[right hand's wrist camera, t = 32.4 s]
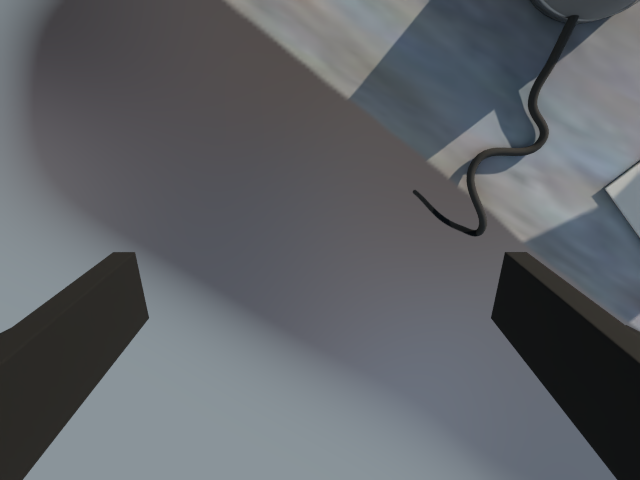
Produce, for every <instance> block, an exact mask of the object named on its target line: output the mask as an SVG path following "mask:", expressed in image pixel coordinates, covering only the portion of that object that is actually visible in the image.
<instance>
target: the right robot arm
mask: <svg viewBox="0 0 640 480" xmlns="http://www.w3.org/2000/svg"><path fill="white" fill-rule="evenodd" d="M638 1H640V0H531V2H532V3H533V4H534V5H535V7H536V8H537V9H539V10H540V11H541V12H542V13H544V14H545V15H546V16H548V17H550V18H552V19H554V20H557V21H560V22H564V23H566V24H565V26H564V28H563V30H562V32H561V34H560V36H559V38H558V40H557V42H556V44H555V47H554V49H553V51H552V53H551V55H550V57H549V59H548V61H547V63H546V64H545V66H544V68H543V69H542V71H541V73H540V74H539V76H538V77H537V79H536V81H535V83H534V84H533V86H532V89H531V91H530V95H529V99H528V108H529V112H530V114H531V116H532V118H533V120H534V121H535V123H536V124H537V126H538V128H539V131H540V136H539V138H538V140H537V141H536V142H535V143H534V144H533V145H532V146H529V147H525V148H492V149H488V150H485V151H483V152H481V153H480V154H478V155H477V156H476V157H475V158H474V159H473V160H472V162H471V164H470V166H469V168H468V172H467V187H468V191H469V194H470V197H471V199H472V202H473V204H474V207H475V209H476V211H477V214H478V218H479V227H478V229H477V230H472V229H469V228H467V227H464V226H462V225H459V224H457V223H454V222H452V221H450V220H449V219H447V218H446V217H444V216H443V215H441V214H440V213H439V212H438V211H437V210H436V209H435V208H434V207H433V206H432V205H431V204H430V203H429V202H428V201H427V200H426V199H425V198H424V197H423V196H422V195H421V194H420V193H419V192H418V191H416V190H413V194H414V195H416V196H417V197H418V198H419V199H420V200H421V201H422V202H423V204H424V205H425V206H426V207H427V208H428V209H429V210H430V211H431V212H432V213H433V214H434V215H435V216H436V217H437V218H438V219H439V220H440V221H442V222H443V223H445V224H446V225H448V226H450V227H451V228H454V229H456V230H458V231H461V232H463V233H465V234H467V235H470V236H474V237H476V236H480V235H482V234H483V232H484V231H485V229H486V226H487V219H486V214H485V212H484V209H483V206H482V204H481V201H480V199H479V197H478V194H477V191H476V187H475V182H474V175H475V171H476V168H477V167H478V165H479V163H480V162H481V161H482V160H483V159H485V158H487V157H490V156H523V155H528V154H531V153H534V152H535V151H537V150H538V149H540V148H541V147H542V146H543V145H544V143H545V142H546V140H547V138H548V134H549V129H548V126H547V124H546V122H545V120H544V119H543V117H542V115H541V114H540V112H539V110H538V107H537V99H538V95H539V92H540V89H541V87H542V85H543V84H544V82H545V80H546V79H547V77H548V76H549V74H550V73H551V71H552V69H553V68H554V66H555V64H556V62H557V61H558V59H559V57H560V55H561V53H562V51H563V49H564V47H565V45H566V43H567V41H568V38H569V36H570V34H571V32H572V30H573V28H574V26H575V24H579V23H588V22H592V21H596V20H600V19H603V18H606V17H609V16H613V15H615V14H617V13H620V12H622V11H624V10H626V9H627V8H629V7H631V6H632V5H634V4H635V3H637V2H638ZM148 319H149V316H148V311H147V307H146V302H145V297H144V293H143V288H142V283H141V279H140V274H139V269H138V264H137V260H136V255H135V252H113V253H112V254H110V255H109V256H108V257H106V258H105V259H104V260H102V261H101V262H100V263H98V264H97V265H96V266H94V267H93V268H91V269H90V270H89V271H87V272H86V273H85V274H83V275H82V276H81V277H79V278H78V279H77V280H75V281H74V282H73V283H71V284H70V285H69V286H67V287H66V288H65V289H63V290H62V291H60V292H59V293H58V294H56V295H55V296H54V297H52V298H51V299H50V300H48V301H47V302H46V303H44V304H43V305H42V306H40V307H39V308H38V309H36V310H35V311H33V312H32V313H31V314H29V315H28V316H27V317H25V318H24V319H23V320H21V321H20V322H19V323H17V324H16V325H15V326H13V327H12V328H10V329H8V330H6V331H4V332H2V333H0V480H23V479H24V477H25V476H26V475H27V474H28V472H29V471H30V470H31V468H32V467H33V466H34V465H35V463H36V462H37V461H38V459H39V458H40V457H41V456H42V454H43V453H44V452H45V450H46V449H47V448H48V447H49V445H50V444H51V443H52V442H53V440H54V439H55V438H56V436H57V435H58V434H59V433H60V431H61V430H62V429H63V427H64V426H65V425H66V424H67V422H68V421H69V420H70V419H71V417H72V416H73V415H74V413H75V412H76V411H77V410H78V408H79V407H80V406H81V404H82V403H83V402H84V400H85V399H86V398H87V397H88V395H89V394H90V393H91V392H92V390H93V389H94V388H95V386H96V385H97V384H98V383H99V381H100V380H101V379H102V378H103V376H104V375H105V374H106V372H107V371H108V370H109V369H110V367H111V366H112V365H113V363H114V362H115V361H116V360H117V358H118V357H119V356H120V354H121V353H122V352H123V351H124V349H125V348H126V347H127V346H128V344H129V343H130V342H131V340H132V339H133V338H134V337H135V335H136V334H137V333H138V331H139V330H140V329H141V328H142V326H143V325H144V324H145V322H146V321H147V320H148ZM491 319H492V320H493V321H494V322H495V324H496V325H497V326H498V328H499V329H500V330H501V331H502V333H503V334H504V335H505V337H506V338H507V339H508V340H509V342H510V343H511V344H512V346H513V347H514V348H515V349H516V351H517V352H518V353H519V355H520V356H521V357H522V358H523V360H524V361H525V362H526V363H527V365H528V366H529V367H530V369H531V370H532V371H533V372H534V374H535V375H536V376H537V378H538V379H539V380H540V381H541V383H542V384H543V385H544V386H545V388H546V389H547V390H548V392H549V393H550V394H551V395H552V397H553V398H554V399H555V401H556V402H557V403H558V404H559V406H560V407H561V408H562V410H563V411H564V412H565V413H566V415H567V416H568V417H569V419H570V420H571V421H572V422H573V424H574V425H575V426H576V427H577V429H578V430H579V431H580V433H581V434H582V435H583V436H584V438H585V439H586V440H587V442H588V443H589V444H590V445H591V447H592V448H593V449H594V451H595V452H596V453H597V454H598V456H599V457H600V458H601V459H602V461H603V462H604V463H605V465H606V466H607V467H608V468H609V470H610V471H611V472H612V474H613V475H614V476H615V477H616V479H617V480H640V332H639V331H637V330H635V329H633V328H631V327H629V326H627V325H624V324H623V323H621V322H620V321H619V320H617V319H616V318H615V317H613V316H612V315H611V314H609V313H608V312H607V311H605V310H604V309H602V308H601V307H600V306H598V305H597V304H596V303H594V302H593V301H592V300H590V299H589V298H588V297H586V296H585V295H584V294H582V293H581V292H580V291H578V290H577V289H575V288H574V287H573V286H571V285H570V284H569V283H567V282H566V281H565V280H563V279H562V278H561V277H559V276H558V275H557V274H555V273H554V272H553V271H551V270H550V269H548V268H547V267H546V266H544V265H543V264H542V263H540V262H539V261H538V260H536V259H535V258H534V257H532V256H531V255H530V254H528V253H527V252H505V255H504V260H503V264H502V269H501V274H500V278H499V283H498V288H497V293H496V297H495V302H494V307H493V311H492V316H491Z"/></svg>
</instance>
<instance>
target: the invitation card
mask: <svg viewBox="0 0 640 480" xmlns="http://www.w3.org/2000/svg"><path fill="white" fill-rule="evenodd" d="M604 189H605V190H606V191H607V193H608V194H609V196H610V197H611V198H612V200H613V201H614V203H615V204H616V205H617V207H618V208H619V210H620V211H621V213H622V214H623V215H624V217H625V218H626V220H627V221H628V222H629V224H630V225H631V227H632V228H633V229H634V231H635V232H636V234H637V235H638V236H639V238H640V162H639V163H637V164H636V165H635V166H633V167H632V168H631V169H629V170H628V171H627V172H626V173H624V174H623V175H622V176H620V177H619V178H618V179H616V180H615V181H614V182H612V183H611V184H610V185H608V186H607V187H606V188H604Z"/></svg>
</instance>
